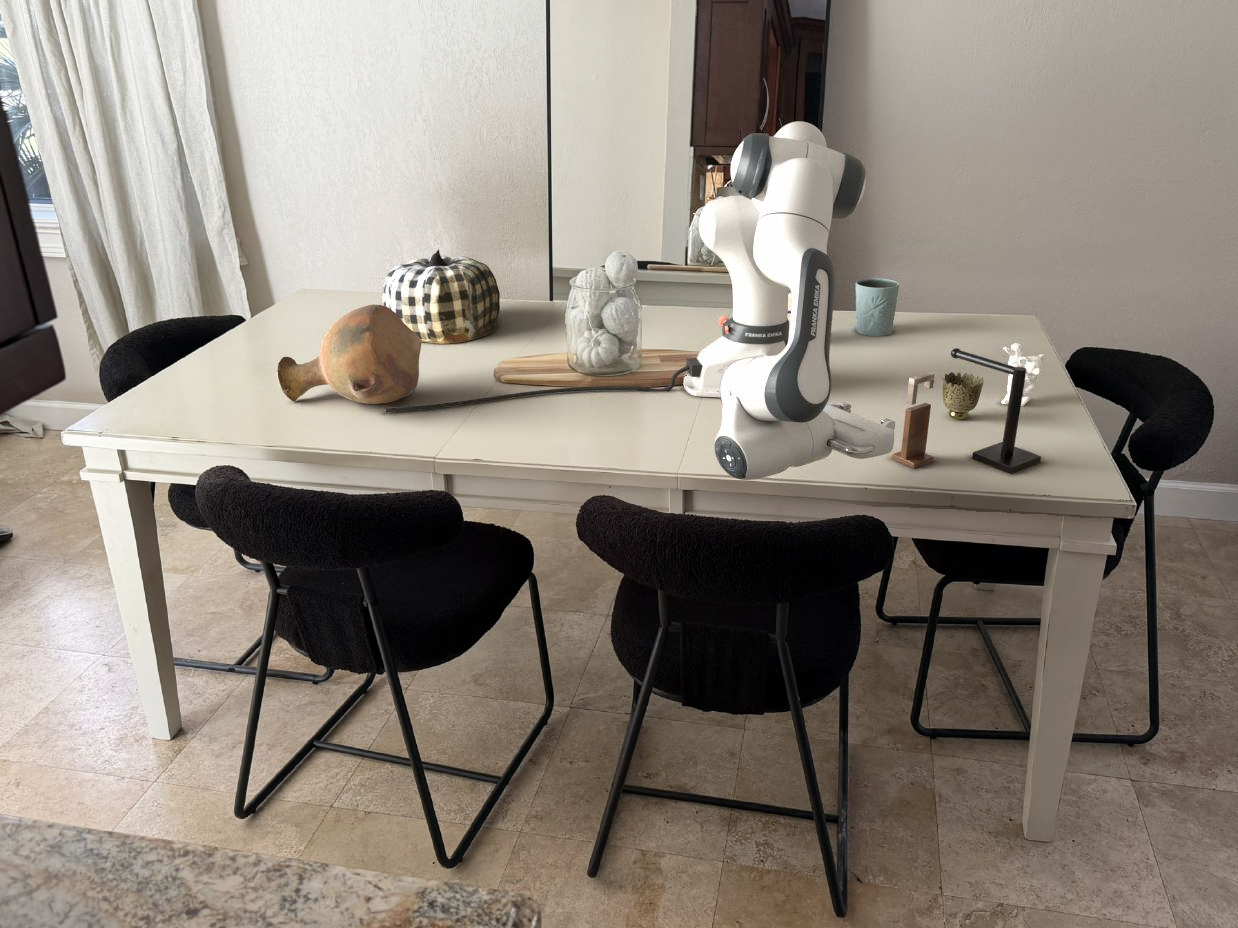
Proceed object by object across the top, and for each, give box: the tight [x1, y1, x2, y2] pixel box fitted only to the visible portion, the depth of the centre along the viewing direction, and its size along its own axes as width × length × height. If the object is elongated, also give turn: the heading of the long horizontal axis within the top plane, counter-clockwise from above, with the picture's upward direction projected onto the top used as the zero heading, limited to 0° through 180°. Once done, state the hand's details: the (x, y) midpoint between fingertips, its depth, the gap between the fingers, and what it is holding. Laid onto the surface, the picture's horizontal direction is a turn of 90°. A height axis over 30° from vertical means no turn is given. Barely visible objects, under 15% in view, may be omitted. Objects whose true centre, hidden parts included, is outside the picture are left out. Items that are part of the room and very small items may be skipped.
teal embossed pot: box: [855, 277, 900, 337], centre depth 244 cm, size 10×10×12 cm
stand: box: [950, 347, 1042, 475], centre depth 175 cm, size 8×18×17 cm, turn 34°
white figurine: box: [1000, 342, 1046, 407], centre depth 198 cm, size 8×7×12 cm
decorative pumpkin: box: [381, 248, 501, 345], centre depth 250 cm, size 30×29×20 cm
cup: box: [941, 371, 985, 421], centre depth 192 cm, size 8×7×8 cm
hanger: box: [891, 371, 935, 469], centre depth 172 cm, size 5×5×16 cm
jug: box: [276, 304, 422, 405], centre depth 203 cm, size 20×20×30 cm
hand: (869, 415), depth 165 cm, fingers open, 8 cm apart
